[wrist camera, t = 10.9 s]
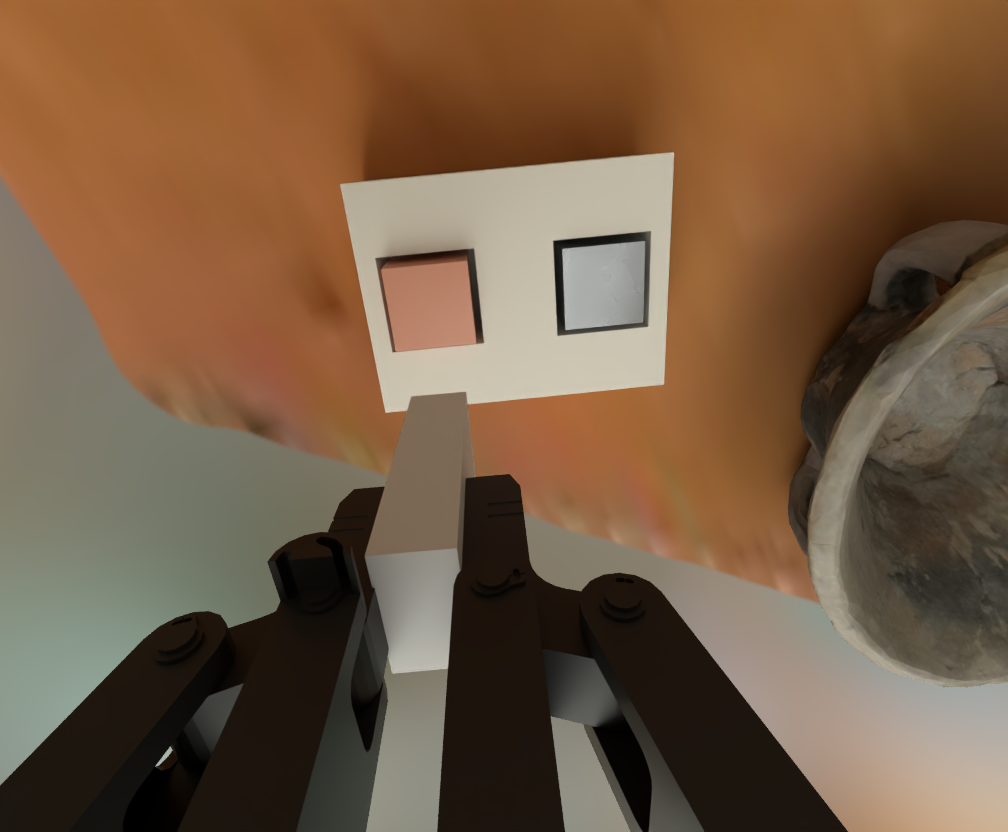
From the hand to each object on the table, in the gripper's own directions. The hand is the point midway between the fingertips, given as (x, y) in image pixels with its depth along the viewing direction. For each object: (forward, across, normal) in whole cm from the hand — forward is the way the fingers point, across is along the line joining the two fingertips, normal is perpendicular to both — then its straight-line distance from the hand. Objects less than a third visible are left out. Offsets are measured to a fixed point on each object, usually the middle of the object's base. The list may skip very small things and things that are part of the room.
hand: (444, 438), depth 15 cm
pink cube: (+18, -2, +1) cm, 18 cm away
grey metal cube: (+19, +7, +1) cm, 20 cm away
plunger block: (+21, +3, 0) cm, 21 cm away
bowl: (+21, +29, -9) cm, 37 cm away
